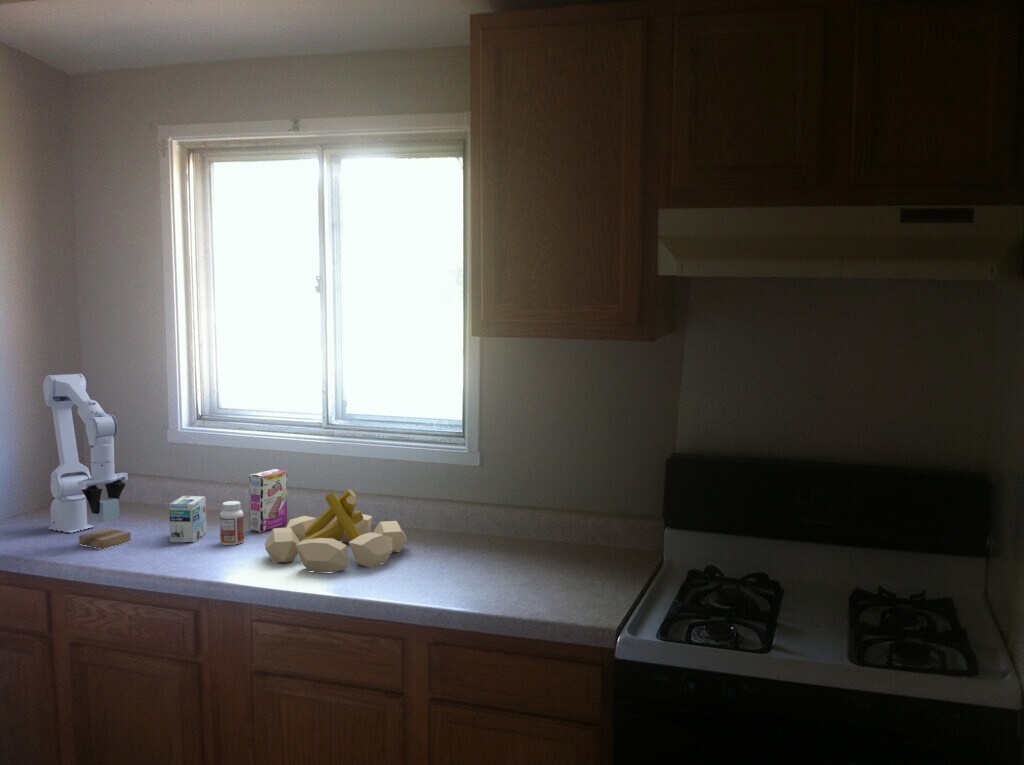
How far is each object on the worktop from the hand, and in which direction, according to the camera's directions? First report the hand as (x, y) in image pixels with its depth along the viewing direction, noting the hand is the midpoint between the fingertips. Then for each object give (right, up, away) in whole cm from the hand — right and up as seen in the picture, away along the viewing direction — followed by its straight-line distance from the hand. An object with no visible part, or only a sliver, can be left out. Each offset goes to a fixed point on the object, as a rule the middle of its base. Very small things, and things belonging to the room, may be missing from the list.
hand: (104, 511), depth 252 cm
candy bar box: (+39, -8, +19) cm, 44 cm away
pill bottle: (+33, -9, +3) cm, 35 cm away
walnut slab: (0, -9, +1) cm, 9 cm away
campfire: (+64, -11, -6) cm, 65 cm away
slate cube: (0, -2, 0) cm, 2 cm away
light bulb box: (+20, -9, +8) cm, 23 cm away
